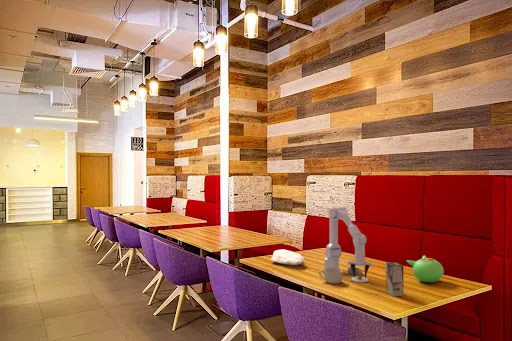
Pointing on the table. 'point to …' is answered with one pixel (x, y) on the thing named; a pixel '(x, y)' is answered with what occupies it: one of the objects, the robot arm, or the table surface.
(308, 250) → the table surface
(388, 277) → the coffee box
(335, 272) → the teacup
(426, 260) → the green teapot
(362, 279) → the lid
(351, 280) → the mat
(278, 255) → the crumpled cloth
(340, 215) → the robot arm
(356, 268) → the bowl
